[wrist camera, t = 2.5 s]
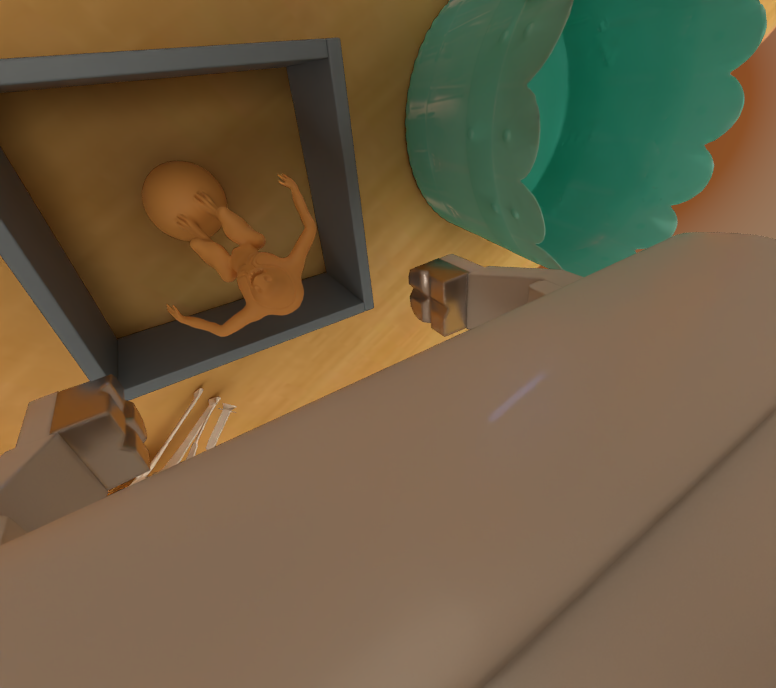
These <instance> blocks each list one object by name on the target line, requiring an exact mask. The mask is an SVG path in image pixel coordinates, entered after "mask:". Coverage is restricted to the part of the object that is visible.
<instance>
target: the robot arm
mask: <svg viewBox="0 0 776 688" xmlns="http://www.w3.org/2000/svg"><path fill="white" fill-rule="evenodd" d="M409 284H410V285H411V286H412V287H413V290H412V293H411V295H410V302H411V307H412V310H413V312H414V314H415V315H416V317H417V318H418V319H419V320H421V321H422V322H427V323H431V328H432V329H434V330H435V331H437V332H438V333H440V334H441V335H443V336H444V337H446V336H448V335H450V334H453V333H455V332H458V331H460V330H462V329H465V328H467V329H470V330H468V331H466V332H464V333H462V334H459V335H457V336H455V337H453V338H451V339H448V340H446V341H444V342H442V343H440V344H438V345H435V346H433V347H431V348H429V349H427V350H425V351H422V352H420V353H418V354H416V355H414V356H412V357H409V358H407V359H405V360H403V361H401V362H398V363H396V364H394V365H392V366H390V367H388V368H385V369H383V370H381V371H379V372H377V373H374V374H372V375H370V376H368V377H366V378H364V379H361V380H359V381H357V382H355V383H353V384H351V385H348V386H346V387H344V388H342V389H340V390H337V391H335V392H333V393H331V394H329V395H327V396H324V397H322V398H320V399H318V400H316V401H313V402H311V403H309V404H307V405H305V406H303V407H300V408H298V409H296V410H294V411H292V412H289V413H287V414H285V415H283V416H281V417H279V418H276V419H274V420H272V421H270V422H268V423H266V424H263V425H261V426H259V427H257V428H255V429H252V430H250V431H248V432H246V433H244V434H242V435H239V436H237V437H235V438H233V439H231V440H228V441H226V442H224V443H222V444H220V445H218V446H215V447H213V448H211V449H209V450H207V451H205V452H202V453H200V454H198V455H196V456H194V457H191V458H189V459H187V460H185V461H183V462H181V463H178V464H176V465H174V466H172V467H170V468H167V469H165V470H163V471H161V472H159V473H157V474H154V475H152V476H150V477H148V478H146V479H144V480H141V481H139V482H137V483H135V484H133V485H131V486H128V487H126V488H124V489H122V490H120V491H117V492H115V493H113V494H111V495H109V496H107V494H108V493H109V492H108V490H110V489H112V488H115V487H117V486H119V485H121V484H123V483H125V482H127V481H129V480H131V479H133V478H135V477H137V476H140V475H142V474H144V473H146V472H148V471H150V462H149V451H148V449H147V448H146V446H145V445H144V442H145V441H146V439H147V433H146V428H145V425H144V422H143V419H142V417H141V415H140V413H139V411H138V410H137V408H136V406H135V405H134V403H132V402H130V401H127V400H124V388H123V387H122V385H121V384H120V382H119V381H118V379H117V378H116V377H115V376H114V375H112V374H110V375H107V376H104V377H101V378H98V379H95V380H92V381H89V382H86V383H83V384H80V385H77V386H74V387H71V388H68V389H65V390H62V391H60V392H58V391H57V392H55V393H52V394H50V395H47V396H44V397H42V398H39V399H36V400H34V401H31V402H29V404H28V407H27V410H26V414H25V417H24V420H23V424H22V427H21V430H20V434H19V437H18V440H17V444H16V447H15V448H14V449H12V450H9V451H7V452H5V453H4V454H3V455H2V456H1V457H0V688H776V239H773V238H768V237H764V236H757V235H751V234H738V233H720V232H719V233H718V232H716V233H715V232H707V233H704V232H698V233H697V232H695V233H682V234H678V235H675V236H673V237H670V238H668V239H666V240H664V241H662V242H660V243H658V244H655V245H653V246H651V247H649V248H647V249H645V250H642V251H640V252H638V253H636V254H634V255H631V256H629V257H627V258H625V259H623V260H621V261H618V262H616V263H614V264H612V265H610V266H607V267H605V268H603V269H601V270H599V271H597V272H594V273H592V274H590V275H588V276H586V277H582V276H579V275H576V274H573V273H571V272H568V271H565V270H559V269H538V268H517V267H496V266H488V267H482V266H480V265H478V264H475V263H473V262H470V261H468V260H466V259H463V258H461V257H458V256H456V255H454V254H449V255H446V256H444V257H441V258H438V259H435V260H433V261H430V262H428V263H425V264H422V265H420V266H417V267H415V268H413V269H411V270H410V272H409ZM106 496H107V497H106Z"/></svg>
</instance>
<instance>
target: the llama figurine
mask: <svg viewBox="0 0 776 688" xmlns="http://www.w3.org/2000/svg"><path fill="white" fill-rule="evenodd" d="M202 391H203V389H202V388H199V389H198V390H197V391H196V392H194V400H193V401H192V403H191V404H190V406H189V407H188V409H187V410H186V412H185V413H184V415H183V416H182V418H181V419H180V421H179V422H178V424H177V425H176V427H175V428H174V430H173V431H172V433H171V434H170V436H169V437H168V439H167V440H166V442H165V443H164V445H163V446H162V448H161V449H160V450H159V452H158V453H157V455H156V456H155V458H154V459H153V460H152V462H151V463H150V471H148V472H146V473H144V474H142V475H140V476H137V478H136V479H135V480H134V481H133V482H132V483H131V484H130V486H131V485H133V484H135V483H137V482H139V481H141V480H144V479H146V478H148V477H146V476H147V475H148V474H149V473H150V472H151V470H152V469H153V468H154V466H155V465H156V463H157V461H158V460H159V458H160V456H161V455H162V453H163V452H164V450H165V448H166V447H167V445H168V444H169V442H170V441H171V439H172V438H173V436H174V435H175V433H176V432H177V430H178V429H179V427H180V426H181V424H182V423H183V421H184V420H185V418H186V417H187V415H188V414H189V412H190V411H191V409H192V408H193V406H194V405H195V403H196V402H197V400H198V399H199V397H200V395H201V393H202ZM220 399H221V398H220V397H219V396H218V397H215V398H212V399H209V400H208V401H209V406H208V407H207V409H206V410H205V412H204V413H203V415H202V416H201V417H200V419H199V420H198V422H197V423H196V425H195V426H194V427H193V429H192V430H191V432H190V433H189V435H188V436H187V438H186V439H185V440H184V442H183V443H182V445H181V446H180V447H179V449H178V450H177V451H176V452H175V454H174V455H173V456H172V458H171V459H170V460H169V462H168V463H167V464H166V465H165V467H164V468H163V469H162V470H160V471H159V472H161V471H163V470H165V469H167V468H170V467H172V466H174V465H176V464H178V463H180V461H181V459H182V458H183V456H184V454H185V453H186V451H187V449H188V447H189V446H190V444H191V443H192V441H193V440H194V438H195V437H196V435H197V434H198V435H197V437H196V440H195V443H194V442H193V444H192V447H191V449H190V452H189V454H188V456H187V458H186V460H187V459H189V458H191V457H194V456H195V453H196V450H197V447H198V445H197V443H198V440H199V438H200V435H201V433H202V431H203V429H204V427H205V425H206V423H207V421H208V418H209V416H210V414H211V412H212V411H213V409H214V408H215V406H216V405H217V403H218V402H219V400H220ZM234 408H236V406H234V405H229V404H225V403H223V409H222V410H223V411H222V413H221V415H220V417H219V419H218V421H217V424H216V426H215V428H214V430H213V432H212V434H211V436H210V438H209V441H208V444H207V447H206V449H207V450H209V449H211V448H213V447H215V446H216V443H217V441H218V438H219V436H220V434H221V432H222V430H223V427H224V425H225V423H226V421H227V419H228V417H229V414H230V412H233V411H231V410H233V409H234ZM219 409H220V408H219ZM235 413H236V412H235ZM198 432H199V433H198ZM159 472H156V473H154V474H157V473H159ZM154 474H153V475H154Z"/></svg>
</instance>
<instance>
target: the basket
mask: <svg viewBox="0 0 776 688" xmlns="http://www.w3.org/2000/svg"><path fill="white" fill-rule="evenodd" d="M766 27H767V20H766V11H765V9H764V7H763V5H762V4H760V2H759V0H449V2H448V4H447V5H446V6H445V7H444V8H443V9H442V10H441V11H440V13H439V15H438V17H436V18H435V19H434V21H433V23H432V25H431V28H430V29H429V30H428V31H427V33H426V36H425V39H424V42H423V43H422V45H421V47H420V49H419V53H418V57H417V58H416V60H415V63H414V69H413V72H412V74H411V79H410V87H409V89H408V94H407V99H408V101H407V105H406V119H405V126H406V141H407V152H408V154H409V161H410V165H411V167H412V169H413V175H414V177H415V179H416V181H417V185H418V188H419V189H420V190H421V193H422V195H423V197H424V198H425V199H426V200H427V203H428V204H429V205H430V206H432V208H433V210H434V211H435V212H437V213H438V214H439V216H440V217H442V218H444V219H445V220H446V221H448V222H450V223H453V224H454V225H457V226H459V227H461V228H463V229H465V230H467V231H469V232H472V233H474V234H477V235H479V236H481V237H483V238H485V239H487V240H489V241H491V242H493V243H495V244H497V245H499V246H502V247H504V248H506V249H508V250H510V251H512V252H514V253H516V254H518V255H520V256H522V257H524V258H526V259H529V260H531V261H533V262H535V263H537V264H540V265H542V266H544V267H546V268H548V269H559V270H565V271H568V272H571V273H573V274H576V275H579V276H582V277H586V276H588V275H590V274H592V273H594V272H597V271H599V270H601V269H603V268H605V267H607V266H610V265H612V264H614V263H616V262H618V261H621V260H623V259H625V258H627V257H629V256H631V255H634V254H636V252H635V250H636V249H646V248H649V247H651V246H653V245H655V244H658V243H660V242H662V241H664V240H666V239H668V238H670V237H671V236H672V235H673V233H674V231H675V230H676V227H677V216H676V214H675V212H674V210H673V209H672V207H671V205H676V204H680V203H682V202H685V201H688V200H690V199H691V198H693V197H695V196H696V195H697V194H699V193H700V192H701V191H702V190H703V189H704V188H705V187H706V185H707V184H708V182H709V180H710V178H711V176H712V173H713V168H714V164H713V159H712V156H711V154H710V153H709V152H708V150H706V148H705V146H704V145H705V144H707V143H709V142H712V141H715V140H716V139H717V138H719V137H720V136H722V135H723V134H724V133H725V132H726V131H728V129H730V128H731V127H732V125H733V124H734V123H735V122H736V120H737V119H738V117H739V116H740V114H741V111H742V108H743V105H744V92H743V89H742V86H741V85H740V83H739V82H738V80H737V79H736V78H735V77H733V76H732V75H730V72H732V71H733V70H735V69H736V68H738V67H739V66H740V65H742V64H743V63H744V62H745V61H746V60H748V59H749V58H750V57H751V55H752V54H753V53H754V52H755V51H756V49H757V48H758V46H759V45H760V43H761V41H762V39H763V37H764V34H765V31H766Z"/></svg>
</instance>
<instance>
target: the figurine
mask: <svg viewBox="0 0 776 688" xmlns="http://www.w3.org/2000/svg"><path fill="white" fill-rule="evenodd" d="M282 175H283V176H284V177H282V176H281V175H279V174H277V176H279V177H280V178H281V179H282V180H283V181H284V182H281V181H278V182H279V183H280V184H282V185H284V186H286V187H288V188H290V189H291V191H292V197H293V201H294V204H295V207H296V209H297V211H298V213H299V215H300V218H301V221H302V223H303V225H304V227H305V228H304V231H303V232H302V234H301V235H300V237H299V239H298V240H297V242H296V244H295V246H294V248H293V250H292V251H291V253H290V255H289V256H287V257H286V258H280V257H277V256H276V255H274V254H271V253H267V252H258V250H260V249H261V248H262V247H263V246H264V245H265V242H266V241H265V237H264V236H263V235H262V234H261V233H259V232H257V231H255V230H253V229H252V228H251V227H250V226H249V225H248V224H247V222H246V221H245V220H243V219H242V218H241V217H240V216H238V215H237V214H235V213H233V212H232V211H230V210H229V209H227V200H226V196H225V193H224V191H223V189H222V187H221V185H220V184H219V182H218V181H217V180H216V178H215V177H214V176H213V175H212V174H210V173H209V172H208V171H207V170H205V169H204V168H202V167H200V166H198V165H196V164H193V163H190V162H185V161H170V162H166V163H163V164H161V165H159V166H157V167H156V168H154V169H153V170H152V171H151V172H150V173H149V174H148V176H147V177H146V179H145V182H144V184H143V189H142V201H143V205H144V208H145V211H146V213H147V215H148V217H149V218H150V220H151V221H152V222H153V223H154V225H155V226H156V227H157V228H159V229H160V230H161V231H162V232H164V233H165V234H167V235H169V236H171V237H173V238H176V239H179V240H183V241H190V247H191V248H192V249H193V250H194V251H195V252H196V253H197V254H198V255H199V256H200V258H201V259H202V260H203V261H204V262H205V263H207V264H208V265H209V266H211V267H212V268H214V269H215V270H216V271H217V272H218V274H219V275H220V277H221V278H222V280H223V281H225V282H232V281H234V280H235V279H236V277H237V283H238V287H239V289H240V291H241V293H242V295H243V297H244V298H245V301H246V305H245V307H244V308H243V309H242V310H241V311H239V312H238V313H236V314H235V315H234V316H233V317H231V318H230V319H229V320H228V321H226V322H225V323H224V324H223V325H219V324H217V323H214V322H209V321H206V320H204V319H201V318H197V317H188V316H183V315H181V313H180V312H179V311H178V309H177V308H176V307H175V306H174V305H172V306H173V308H174V309H173V308H171V307H170V306H169V305H168V304H166V305H167V307H168V308H167V310H168V312H169V313H170V314H171V315H172V316H173V317H174V318H175V319H176V320H178V321H179V322H180V323H183V324H187V325H189V326H191V327H194V328H198V329H202V330H206V331H209V332H211V333H213V334H215V335H217V336H221V337H225V336H228V335H231V334H233V333H234V332H236V331H238V330H240V329H241V328H243V327H244V326H246V325H247V324H249V323H251V322H254V321H257V320H260V319H262V318H263V317H265V316H267V315H287V314H290V313H292V312H294V311H295V310H296V309H298V308H299V306H300V305H301V303H302V300H303V296H304V289H303V285H302V281H301V274H302V272H303V269H304V266H305V260H306V256H307V254H308V252H309V250H310V248H311V245H312V243H313V241H314V238H315V235H316V231H317V228H316V224H315V222H314V220H313V218H312V217H311V215H310V213H309V211H308V208H307V206H306V203H305V201H304V198H303V196H302V195H301V193H300V191H299V188H298V186H297V184H296V183H295V182H294V180H293V179H291V178H290V177H288V176H286V175H285V174H282ZM221 227H223V231H224V233H225V235H226V236H227V237H228V238H229V239H230V240H231V241H233V242H235V243H237V244H238V245H239V247H236V248H234V249H233V251H232V255H229V253H228V252H227V251H226V249H225V248H224V247H223V246H221V245H220V244H218V243H215V242H213V241H212V239H211V238H210V237H211V236H212V235H214V234H215V233H216V232H217V231H218V230H219V229H220V228H221Z"/></svg>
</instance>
